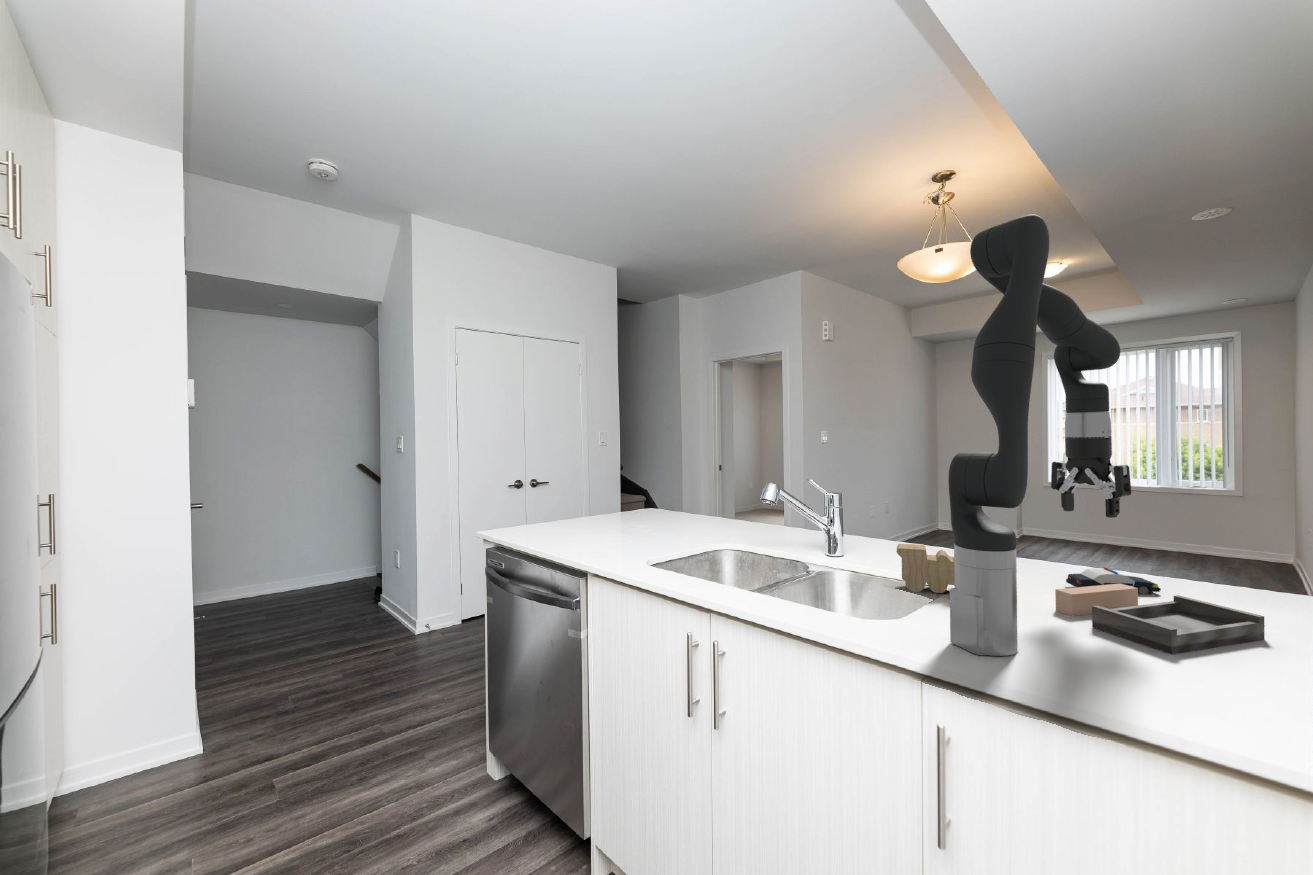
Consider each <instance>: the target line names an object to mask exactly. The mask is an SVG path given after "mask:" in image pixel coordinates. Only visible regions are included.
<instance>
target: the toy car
mask: <svg viewBox="0 0 1313 875" xmlns="http://www.w3.org/2000/svg"><path fill="white" fill-rule="evenodd" d="M1065 582H1066V583H1067V584H1069V585H1071V586H1072V587H1074V588H1077V587H1087V586H1098V585H1109V584H1124V585H1128V586H1131V587H1135V588H1138V595H1149V594H1150V593H1154V592H1155V593H1160V592H1161V590H1162V588H1160V586H1159V585H1158V583H1155V582H1152V581H1150V580H1147V579H1145V578H1143V577H1138V576H1133V575H1132V576H1130V575H1124V574H1122V573H1119V572H1118V571H1116V570H1113V569H1111V568H1109V567H1104V568H1103V567H1102V568H1089V569H1088V568H1087V569H1085V570H1084V571H1082V572H1080V573H1069V574H1067V578H1066V579H1065Z"/></svg>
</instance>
